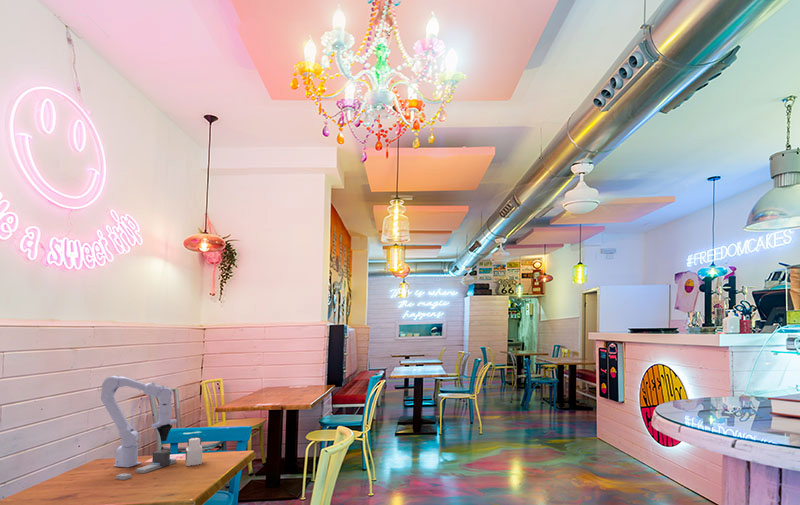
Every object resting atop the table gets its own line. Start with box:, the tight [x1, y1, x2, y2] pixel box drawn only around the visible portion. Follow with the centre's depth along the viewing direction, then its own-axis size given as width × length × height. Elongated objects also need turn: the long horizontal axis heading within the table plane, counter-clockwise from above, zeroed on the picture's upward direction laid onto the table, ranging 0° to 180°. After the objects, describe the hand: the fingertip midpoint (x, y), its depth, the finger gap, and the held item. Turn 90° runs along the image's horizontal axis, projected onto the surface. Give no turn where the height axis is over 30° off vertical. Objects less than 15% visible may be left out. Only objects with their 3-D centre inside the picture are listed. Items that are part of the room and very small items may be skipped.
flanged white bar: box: [115, 458, 177, 481], centre depth 231 cm, size 5×30×2 cm, turn 161°
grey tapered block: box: [151, 450, 171, 467], centre depth 239 cm, size 7×4×6 cm, turn 71°
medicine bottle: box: [185, 436, 203, 467], centre depth 241 cm, size 7×7×12 cm
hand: (163, 440), depth 247 cm, fingers closed
